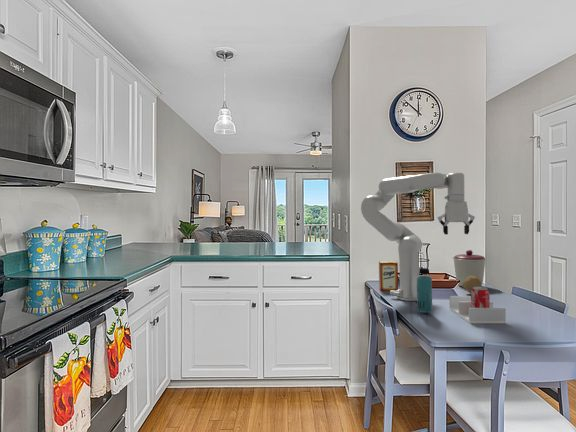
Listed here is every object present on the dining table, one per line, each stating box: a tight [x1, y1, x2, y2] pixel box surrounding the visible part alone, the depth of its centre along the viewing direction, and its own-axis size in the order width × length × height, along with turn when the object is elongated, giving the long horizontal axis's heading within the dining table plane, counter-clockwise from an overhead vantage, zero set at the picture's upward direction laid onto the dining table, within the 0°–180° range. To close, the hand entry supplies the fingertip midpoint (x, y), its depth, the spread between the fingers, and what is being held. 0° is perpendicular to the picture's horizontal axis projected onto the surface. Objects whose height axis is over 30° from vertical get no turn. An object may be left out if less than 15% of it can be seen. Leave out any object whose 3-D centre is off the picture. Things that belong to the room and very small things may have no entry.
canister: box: [452, 249, 487, 288], centre depth 240 cm, size 18×18×21 cm
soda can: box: [470, 286, 491, 308], centre depth 171 cm, size 7×7×12 cm
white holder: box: [448, 295, 507, 324], centre depth 176 cm, size 14×23×6 cm, turn 178°
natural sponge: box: [463, 276, 482, 295], centre depth 218 cm, size 9×9×10 cm
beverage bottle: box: [416, 267, 433, 313], centre depth 180 cm, size 6×7×20 cm
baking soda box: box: [378, 260, 399, 292], centre depth 234 cm, size 10×6×16 cm
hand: (456, 234), depth 199 cm, fingers open, 9 cm apart
